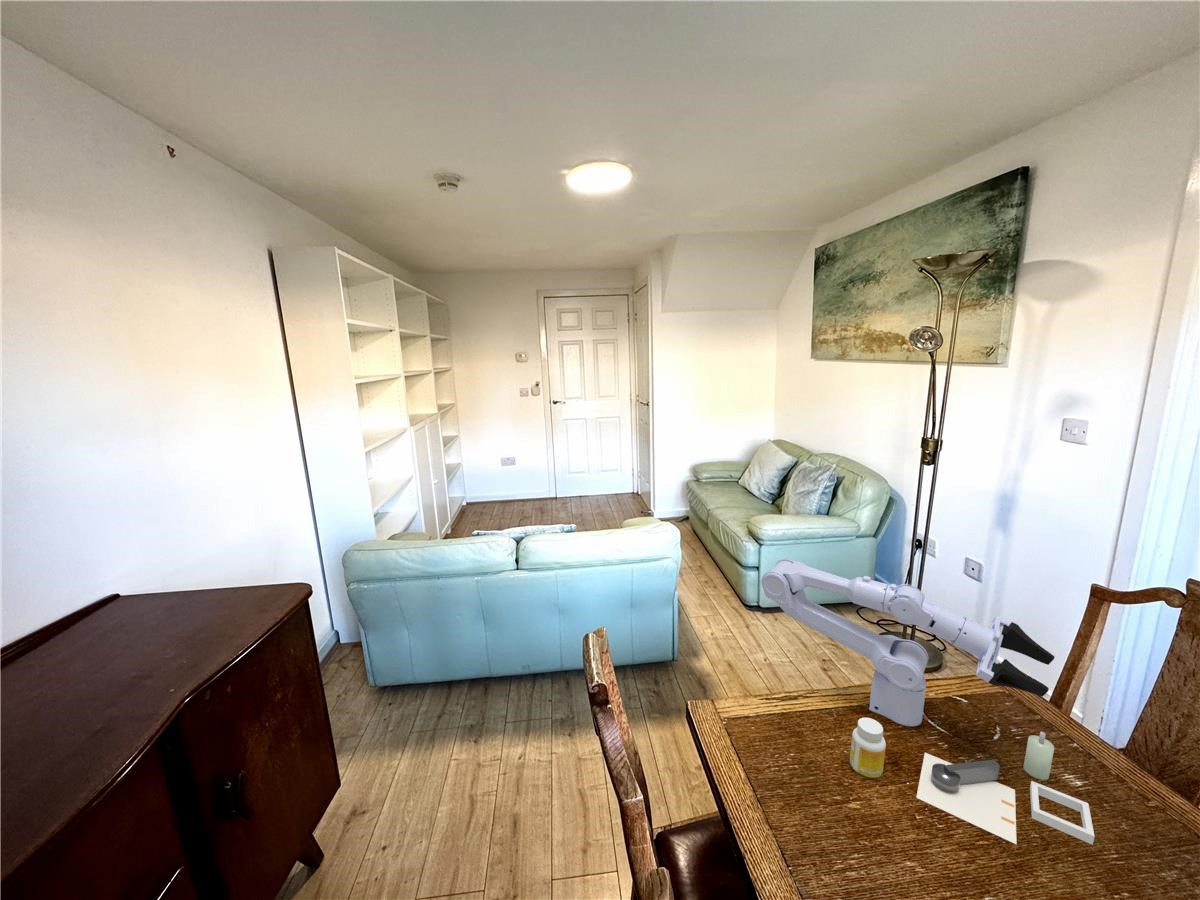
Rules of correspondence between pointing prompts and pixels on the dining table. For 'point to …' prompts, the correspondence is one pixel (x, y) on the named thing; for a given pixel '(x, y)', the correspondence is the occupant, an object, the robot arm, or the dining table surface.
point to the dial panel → (972, 801)
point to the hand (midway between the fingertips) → (1048, 676)
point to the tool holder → (1058, 823)
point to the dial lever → (963, 774)
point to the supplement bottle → (868, 748)
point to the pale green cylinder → (1038, 756)
